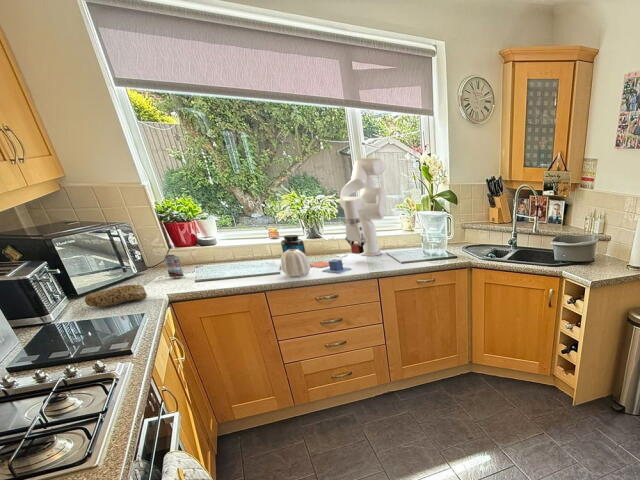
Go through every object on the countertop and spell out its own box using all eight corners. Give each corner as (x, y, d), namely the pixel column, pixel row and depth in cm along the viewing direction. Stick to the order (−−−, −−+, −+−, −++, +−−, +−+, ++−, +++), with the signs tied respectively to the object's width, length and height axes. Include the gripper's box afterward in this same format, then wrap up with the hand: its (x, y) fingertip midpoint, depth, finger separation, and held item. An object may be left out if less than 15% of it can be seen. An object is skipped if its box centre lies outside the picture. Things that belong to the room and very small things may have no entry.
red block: (357, 251, 257) (355, 243, 255) (363, 252, 256) (362, 243, 253) (352, 253, 253) (350, 244, 251) (359, 254, 252) (357, 245, 249)
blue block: (336, 268, 239) (334, 259, 237) (343, 268, 238) (341, 260, 235) (330, 269, 235) (328, 261, 232) (337, 270, 234) (335, 261, 231)
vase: (284, 279, 217) (277, 253, 211) (284, 273, 228) (278, 248, 222) (312, 277, 223) (306, 251, 216) (311, 271, 234) (306, 246, 227)
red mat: (319, 262, 253) (319, 261, 253) (334, 263, 250) (334, 263, 250) (306, 266, 244) (306, 265, 243) (322, 267, 241) (322, 266, 241)
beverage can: (169, 279, 211) (160, 256, 206) (171, 276, 217) (163, 253, 211) (184, 278, 214) (175, 255, 208) (186, 275, 220) (177, 252, 214)
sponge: (145, 298, 189) (83, 297, 175) (143, 281, 186) (79, 280, 171) (150, 310, 182) (86, 310, 168) (148, 293, 179) (83, 292, 164)
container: (305, 266, 243) (299, 237, 235) (283, 266, 241) (276, 237, 233) (309, 261, 253) (303, 234, 246) (288, 262, 251) (282, 234, 243)
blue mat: (335, 267, 243) (335, 266, 242) (351, 269, 240) (351, 268, 240) (322, 271, 233) (322, 270, 233) (338, 273, 231) (338, 272, 230)
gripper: (368, 221, 246) (373, 252, 255) (344, 219, 250) (350, 249, 260) (361, 223, 240) (366, 255, 249) (336, 221, 244) (342, 252, 254)
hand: (357, 252), depth 254 cm, fingers closed on red block, 5 cm apart
